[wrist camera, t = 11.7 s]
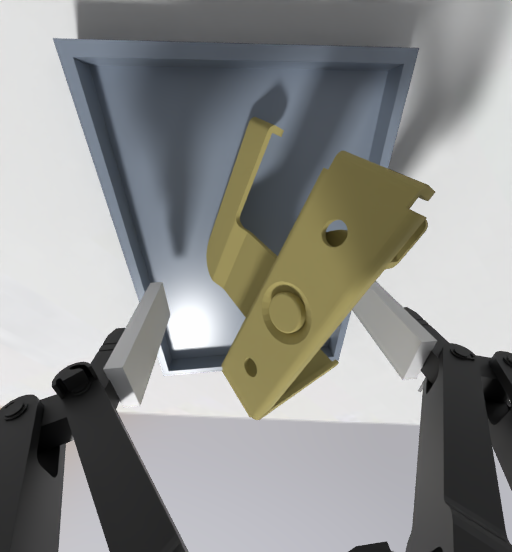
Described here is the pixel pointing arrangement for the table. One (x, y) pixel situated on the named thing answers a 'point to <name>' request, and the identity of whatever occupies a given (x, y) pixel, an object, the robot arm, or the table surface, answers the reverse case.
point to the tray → (221, 155)
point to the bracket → (305, 267)
